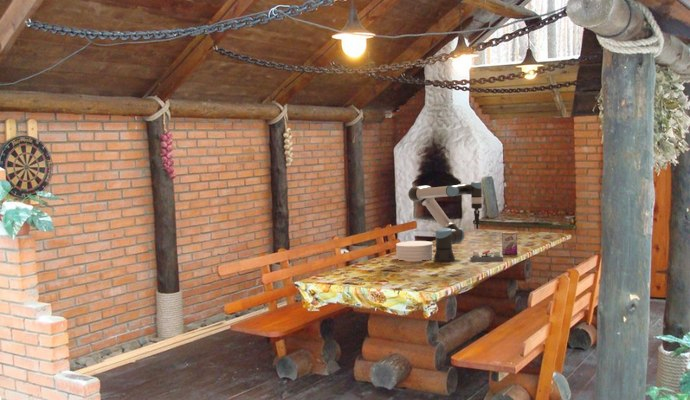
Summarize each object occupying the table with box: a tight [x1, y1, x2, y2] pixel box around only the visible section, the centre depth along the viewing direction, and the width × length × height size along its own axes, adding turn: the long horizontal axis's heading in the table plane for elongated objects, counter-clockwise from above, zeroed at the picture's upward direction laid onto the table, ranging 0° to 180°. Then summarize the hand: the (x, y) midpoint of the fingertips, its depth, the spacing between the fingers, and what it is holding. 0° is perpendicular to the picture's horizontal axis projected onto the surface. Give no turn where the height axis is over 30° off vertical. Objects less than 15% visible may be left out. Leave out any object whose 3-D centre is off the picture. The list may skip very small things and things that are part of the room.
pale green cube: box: [493, 250, 501, 256], centre depth 490 cm, size 4×4×4 cm
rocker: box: [481, 249, 491, 255], centre depth 492 cm, size 6×4×2 cm
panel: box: [469, 253, 504, 262], centre depth 492 cm, size 23×8×4 cm, turn 78°
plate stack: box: [395, 240, 434, 262], centre depth 515 cm, size 28×28×12 cm
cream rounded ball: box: [472, 250, 480, 257], centre depth 493 cm, size 4×4×4 cm
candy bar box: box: [501, 231, 518, 255], centre depth 514 cm, size 11×5×16 cm, turn 74°
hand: (477, 231), depth 493 cm, fingers open, 13 cm apart
